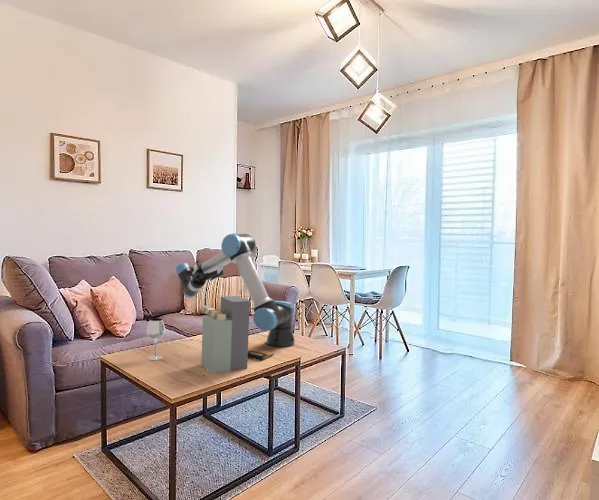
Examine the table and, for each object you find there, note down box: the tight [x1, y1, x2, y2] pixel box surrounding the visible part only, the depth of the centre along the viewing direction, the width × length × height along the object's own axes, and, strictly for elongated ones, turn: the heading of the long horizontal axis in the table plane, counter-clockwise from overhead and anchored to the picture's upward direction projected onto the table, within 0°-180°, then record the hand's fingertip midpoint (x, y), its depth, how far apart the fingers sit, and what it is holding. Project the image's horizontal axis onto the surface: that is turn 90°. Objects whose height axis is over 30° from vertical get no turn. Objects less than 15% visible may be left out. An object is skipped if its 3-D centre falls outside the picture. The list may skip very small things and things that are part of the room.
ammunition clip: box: [248, 349, 275, 361], centre depth 196 cm, size 11×2×12 cm
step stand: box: [200, 295, 251, 375], centre depth 178 cm, size 14×16×30 cm
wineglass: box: [146, 317, 166, 361], centre depth 185 cm, size 8×8×18 cm
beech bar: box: [201, 305, 226, 321], centre depth 180 cm, size 22×3×2 cm, turn 32°
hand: (209, 266), depth 205 cm, fingers open, 13 cm apart
